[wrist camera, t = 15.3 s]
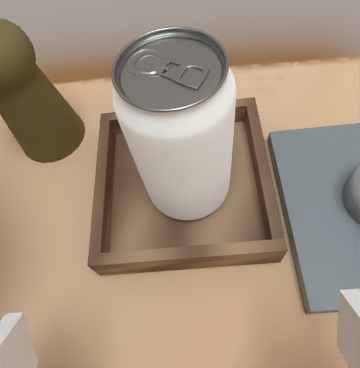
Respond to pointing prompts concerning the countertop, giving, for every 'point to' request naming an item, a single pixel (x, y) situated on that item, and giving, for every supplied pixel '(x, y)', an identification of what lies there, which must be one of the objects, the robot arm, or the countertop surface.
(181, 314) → the countertop surface
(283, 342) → the countertop surface
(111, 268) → the tray
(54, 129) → the cork
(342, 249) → the crank base
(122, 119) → the can
